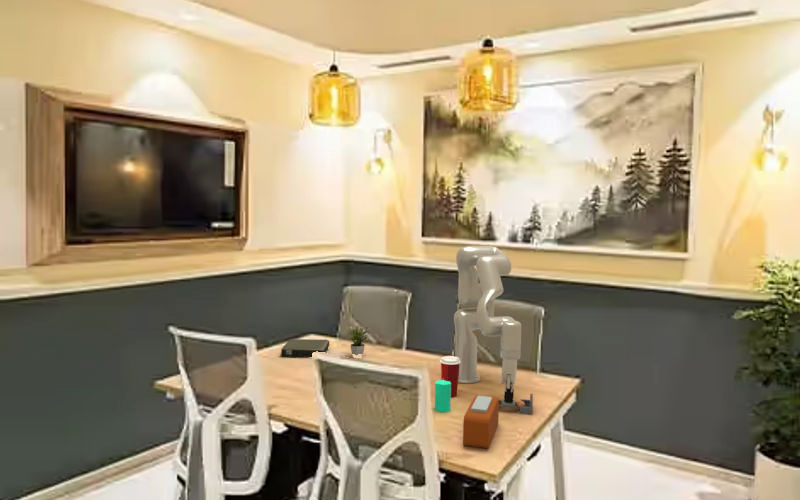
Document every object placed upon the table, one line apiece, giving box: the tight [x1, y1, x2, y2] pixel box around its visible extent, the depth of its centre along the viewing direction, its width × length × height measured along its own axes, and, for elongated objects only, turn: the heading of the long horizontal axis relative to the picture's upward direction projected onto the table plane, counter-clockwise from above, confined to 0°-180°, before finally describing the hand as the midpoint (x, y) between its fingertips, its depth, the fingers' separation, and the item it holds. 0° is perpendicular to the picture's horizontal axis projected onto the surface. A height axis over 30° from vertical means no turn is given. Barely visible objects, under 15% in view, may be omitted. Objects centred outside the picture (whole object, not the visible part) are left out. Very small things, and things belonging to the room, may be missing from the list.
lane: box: [499, 399, 519, 413], centre depth 231 cm, size 17×7×2 cm, turn 77°
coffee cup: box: [439, 355, 460, 398], centre depth 245 cm, size 8×8×15 cm
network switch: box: [280, 338, 330, 358], centre depth 307 cm, size 23×23×5 cm
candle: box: [434, 379, 452, 413], centre depth 227 cm, size 6×6×12 cm
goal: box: [519, 393, 534, 415], centre depth 229 cm, size 5×9×5 cm, turn 167°
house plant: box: [345, 325, 373, 355], centre depth 298 cm, size 14×14×16 cm
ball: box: [516, 399, 525, 410], centre depth 229 cm, size 3×3×3 cm
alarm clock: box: [462, 394, 500, 449], centre depth 204 cm, size 24×8×11 cm, turn 163°
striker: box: [501, 383, 516, 407], centre depth 230 cm, size 5×4×9 cm
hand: (508, 400), depth 230 cm, fingers closed on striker, 2 cm apart
